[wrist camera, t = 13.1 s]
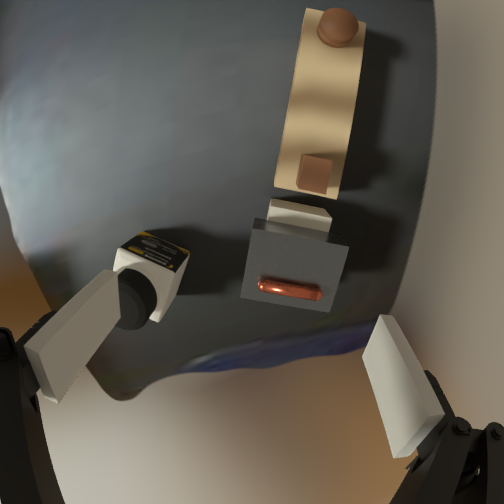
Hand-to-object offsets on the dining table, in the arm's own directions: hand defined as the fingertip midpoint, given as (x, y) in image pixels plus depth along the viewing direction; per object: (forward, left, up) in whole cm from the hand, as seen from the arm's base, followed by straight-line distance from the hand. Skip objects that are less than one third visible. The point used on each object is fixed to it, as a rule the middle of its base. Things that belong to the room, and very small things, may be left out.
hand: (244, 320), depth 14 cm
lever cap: (+3, +4, -18) cm, 18 cm away
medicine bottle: (+9, -12, -23) cm, 27 cm away
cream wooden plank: (-14, +4, -23) cm, 27 cm away
